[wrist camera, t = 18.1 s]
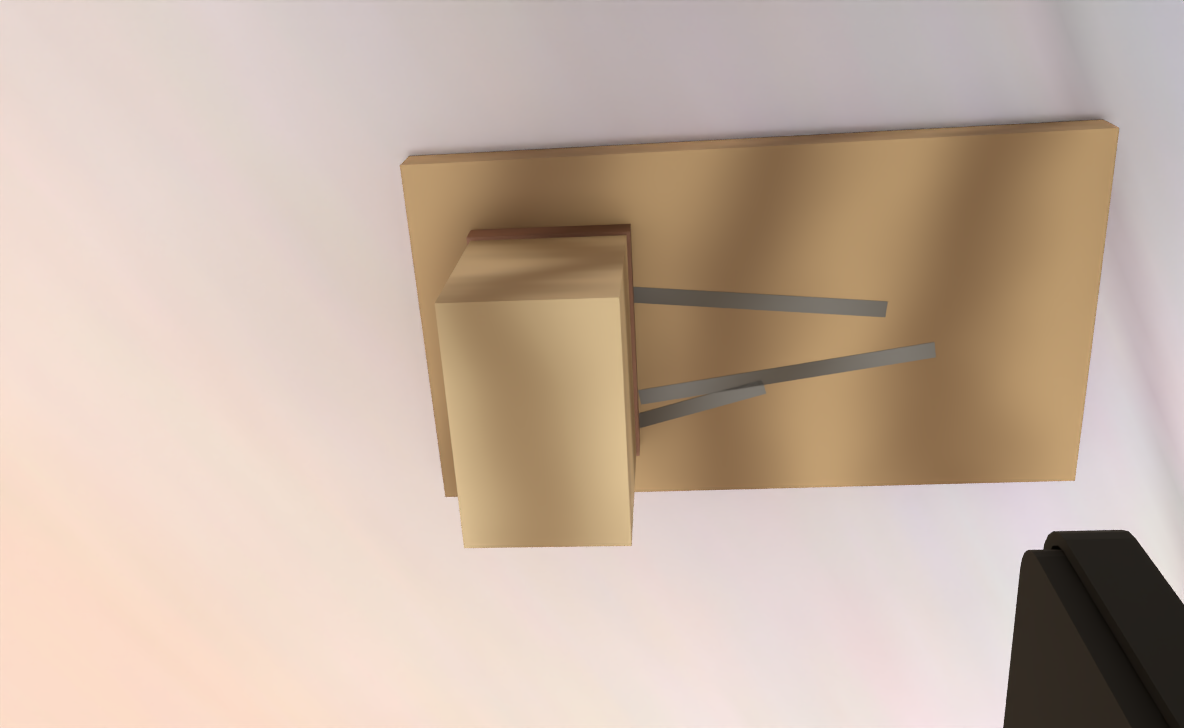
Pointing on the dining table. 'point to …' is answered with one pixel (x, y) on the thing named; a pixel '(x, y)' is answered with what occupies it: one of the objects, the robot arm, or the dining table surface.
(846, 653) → the dining table surface
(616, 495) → the block
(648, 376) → the board
